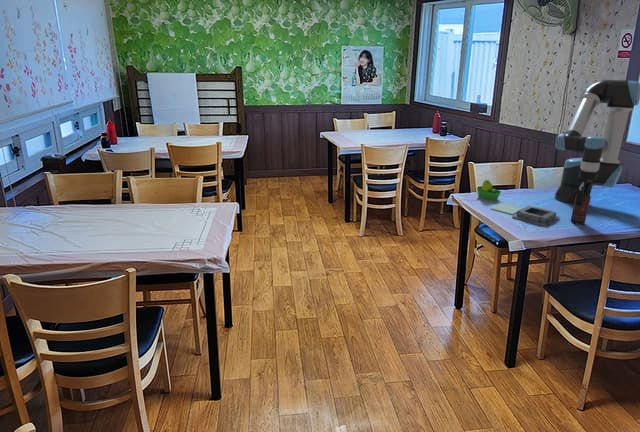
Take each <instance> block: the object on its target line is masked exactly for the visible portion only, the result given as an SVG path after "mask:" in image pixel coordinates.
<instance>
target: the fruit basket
mask: <svg viewBox="0 0 640 432" xmlns="http://www.w3.org/2000/svg"><path fill="white" fill-rule="evenodd" d="M493 186H494V185H493V183H492V182H491V181H490V180H489V179H485V180H484V181H483V182H482V186H481V187H480V186H479V187H477V188H476V190H477V196H478V198H481V199H484V200H486V201H490V202H493V201H497V200H498V198H499V197H500V194H501V193H502V190H499V189H496V188H493Z"/></svg>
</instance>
